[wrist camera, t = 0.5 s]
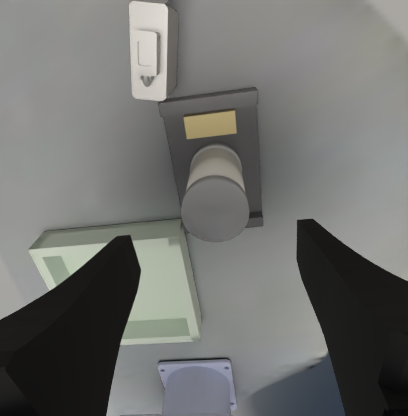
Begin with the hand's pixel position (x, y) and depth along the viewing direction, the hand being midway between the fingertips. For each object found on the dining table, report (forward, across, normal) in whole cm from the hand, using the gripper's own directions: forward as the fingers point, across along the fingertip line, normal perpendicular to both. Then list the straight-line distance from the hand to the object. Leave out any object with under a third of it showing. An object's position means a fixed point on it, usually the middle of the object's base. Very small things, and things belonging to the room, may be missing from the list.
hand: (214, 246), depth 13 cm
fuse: (+9, 0, 0) cm, 9 cm away
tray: (+10, +9, +10) cm, 17 cm away
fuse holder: (+10, 0, 0) cm, 10 cm away
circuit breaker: (+10, +2, -9) cm, 14 cm away
